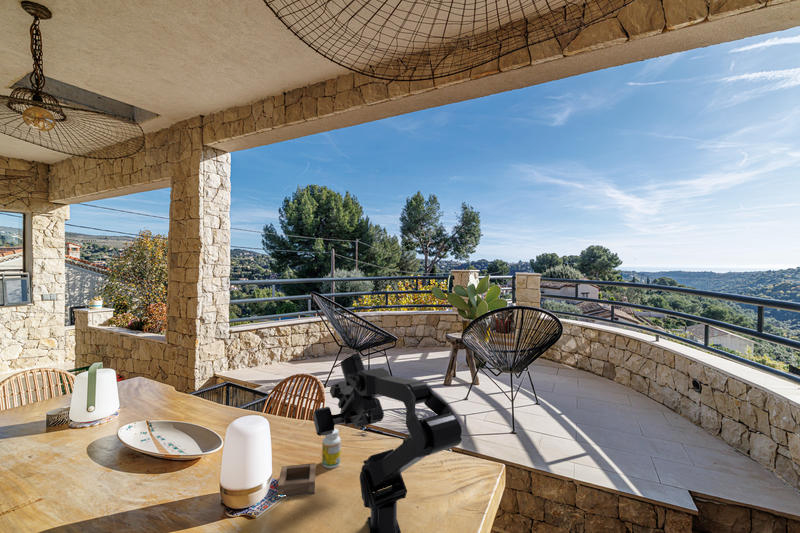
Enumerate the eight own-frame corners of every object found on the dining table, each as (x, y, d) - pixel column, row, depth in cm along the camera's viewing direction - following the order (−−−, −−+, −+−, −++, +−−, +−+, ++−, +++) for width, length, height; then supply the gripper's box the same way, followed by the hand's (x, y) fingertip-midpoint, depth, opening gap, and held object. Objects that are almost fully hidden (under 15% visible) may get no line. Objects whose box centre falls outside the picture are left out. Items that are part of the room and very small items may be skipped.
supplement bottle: (341, 467, 100) (342, 433, 100) (322, 470, 98) (323, 435, 99) (339, 458, 105) (339, 426, 105) (321, 460, 103) (322, 428, 104)
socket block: (314, 493, 87) (314, 481, 87) (277, 497, 85) (277, 485, 86) (315, 473, 96) (315, 462, 96) (281, 477, 94) (281, 466, 94)
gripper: (379, 369, 98) (361, 397, 107) (316, 378, 88) (301, 408, 97) (393, 406, 91) (373, 432, 100) (326, 421, 81) (310, 448, 90)
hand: (340, 429), depth 97 cm, fingers open, 9 cm apart
